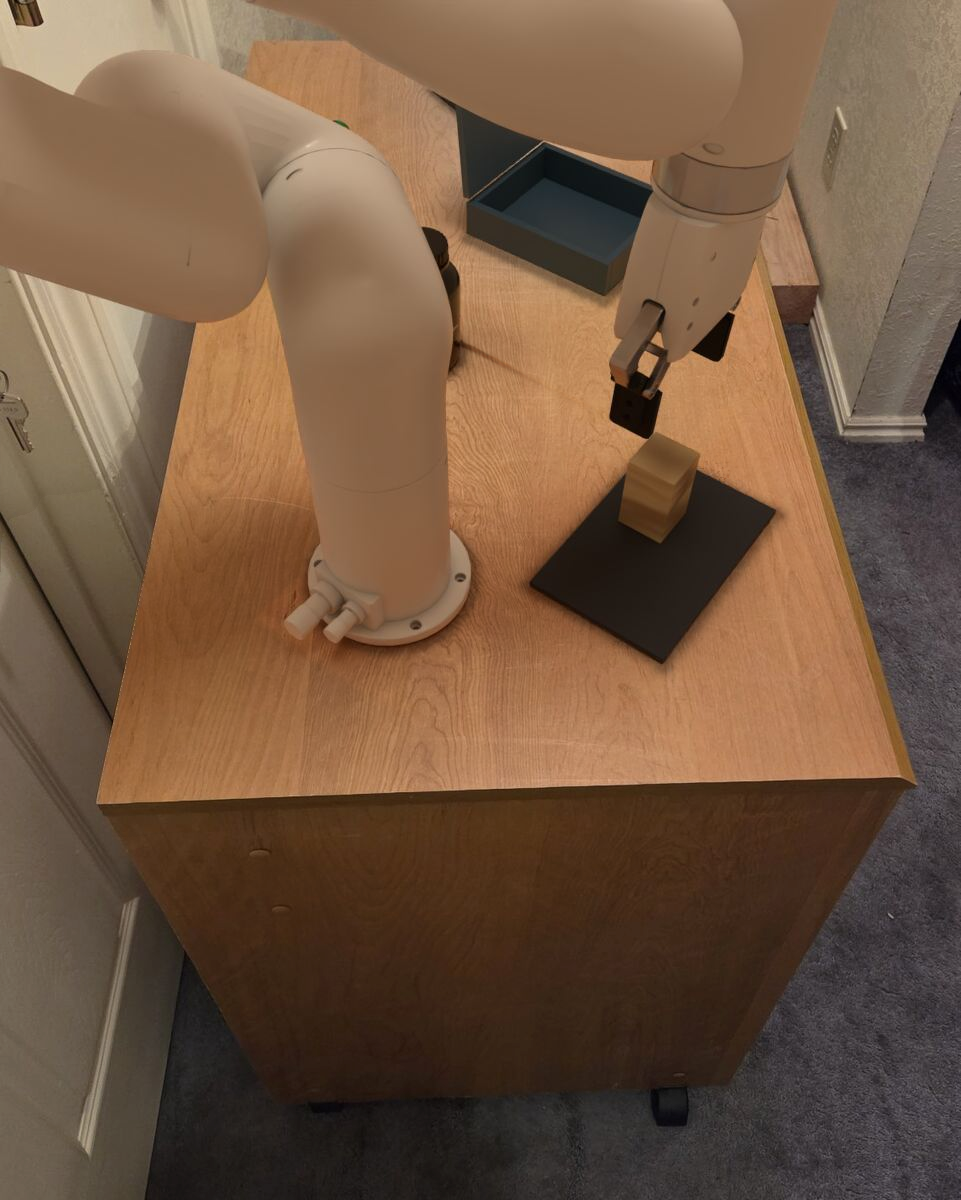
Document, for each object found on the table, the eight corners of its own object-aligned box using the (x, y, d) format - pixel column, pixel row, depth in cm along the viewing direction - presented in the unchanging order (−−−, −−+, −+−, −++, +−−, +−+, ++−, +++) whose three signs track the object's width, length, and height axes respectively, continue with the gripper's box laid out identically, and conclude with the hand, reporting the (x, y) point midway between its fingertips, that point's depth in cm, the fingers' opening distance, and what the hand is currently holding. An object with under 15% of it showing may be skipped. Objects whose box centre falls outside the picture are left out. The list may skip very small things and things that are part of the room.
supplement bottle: (452, 384, 94) (449, 273, 84) (379, 374, 95) (368, 262, 85) (468, 335, 98) (467, 223, 88) (397, 325, 99) (389, 213, 89)
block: (660, 544, 83) (674, 485, 77) (617, 521, 84) (628, 461, 78) (685, 513, 84) (700, 453, 79) (643, 491, 86) (655, 430, 80)
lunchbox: (674, 234, 107) (681, 197, 104) (603, 302, 101) (608, 265, 97) (541, 178, 113) (543, 141, 109) (466, 239, 106) (466, 202, 103)
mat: (662, 664, 77) (663, 659, 76) (529, 585, 81) (529, 581, 80) (774, 514, 85) (776, 509, 85) (649, 450, 89) (650, 445, 89)
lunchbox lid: (544, -47, 95) (537, -48, 95) (454, 11, 89) (447, 9, 89) (547, 138, 109) (541, 136, 109) (469, 199, 102) (462, 197, 103)
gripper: (734, 79, 64) (682, 305, 78) (581, 206, 56) (553, 435, 70) (846, 121, 62) (771, 347, 76) (703, 261, 53) (649, 486, 67)
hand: (667, 389), depth 73 cm, fingers open, 9 cm apart
